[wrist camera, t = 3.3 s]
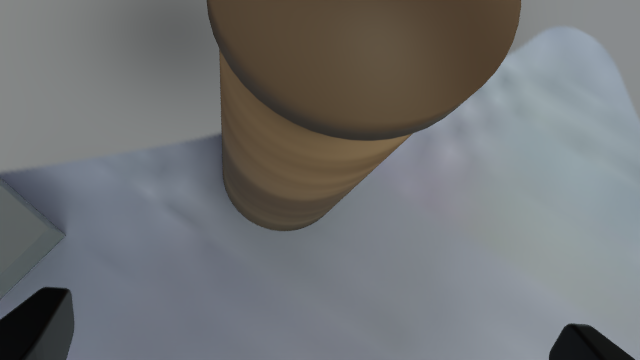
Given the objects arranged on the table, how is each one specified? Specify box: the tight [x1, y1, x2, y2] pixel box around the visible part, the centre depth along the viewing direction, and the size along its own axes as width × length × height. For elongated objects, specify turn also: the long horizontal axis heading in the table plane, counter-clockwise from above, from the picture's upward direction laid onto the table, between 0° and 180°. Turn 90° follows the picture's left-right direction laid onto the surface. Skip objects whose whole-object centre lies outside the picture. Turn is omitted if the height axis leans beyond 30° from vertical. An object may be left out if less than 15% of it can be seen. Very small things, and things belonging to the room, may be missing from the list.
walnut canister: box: [207, 0, 521, 231], centre depth 15 cm, size 5×5×14 cm
